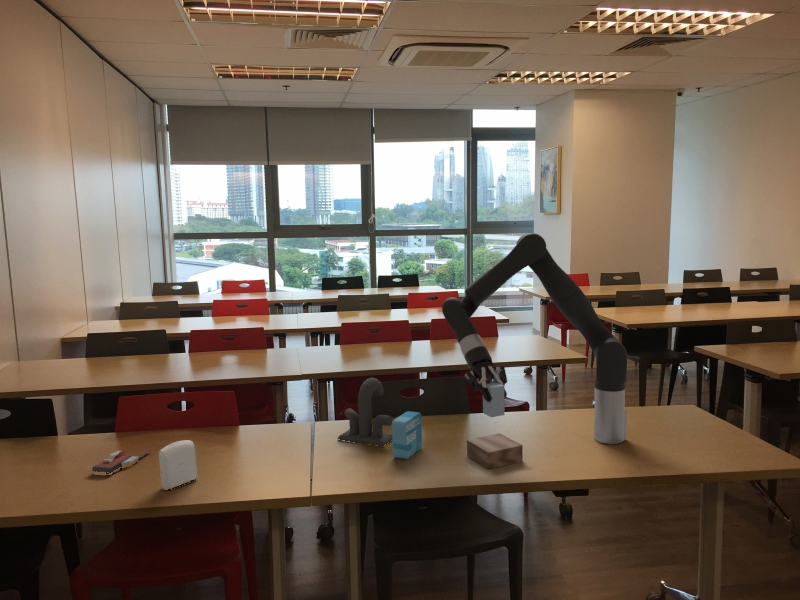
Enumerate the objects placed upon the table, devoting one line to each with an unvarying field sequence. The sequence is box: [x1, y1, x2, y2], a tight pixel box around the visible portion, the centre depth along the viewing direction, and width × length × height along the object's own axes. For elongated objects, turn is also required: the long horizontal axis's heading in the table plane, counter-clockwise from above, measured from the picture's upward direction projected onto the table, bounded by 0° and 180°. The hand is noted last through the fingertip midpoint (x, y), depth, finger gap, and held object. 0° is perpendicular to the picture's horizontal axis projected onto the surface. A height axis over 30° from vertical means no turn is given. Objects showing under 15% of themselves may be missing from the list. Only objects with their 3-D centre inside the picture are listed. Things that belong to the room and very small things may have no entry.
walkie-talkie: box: [91, 448, 151, 474], centre depth 192 cm, size 9×4×20 cm
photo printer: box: [158, 439, 198, 488], centre depth 176 cm, size 10×4×12 cm, turn 140°
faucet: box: [337, 377, 393, 447], centre depth 210 cm, size 18×16×20 cm
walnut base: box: [466, 432, 524, 470], centre depth 188 cm, size 12×12×5 cm
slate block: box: [482, 382, 505, 418], centre depth 186 cm, size 5×5×9 cm
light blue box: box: [391, 411, 423, 460], centre depth 194 cm, size 12×4×12 cm, turn 153°
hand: (497, 399), depth 184 cm, fingers closed on slate block, 4 cm apart
